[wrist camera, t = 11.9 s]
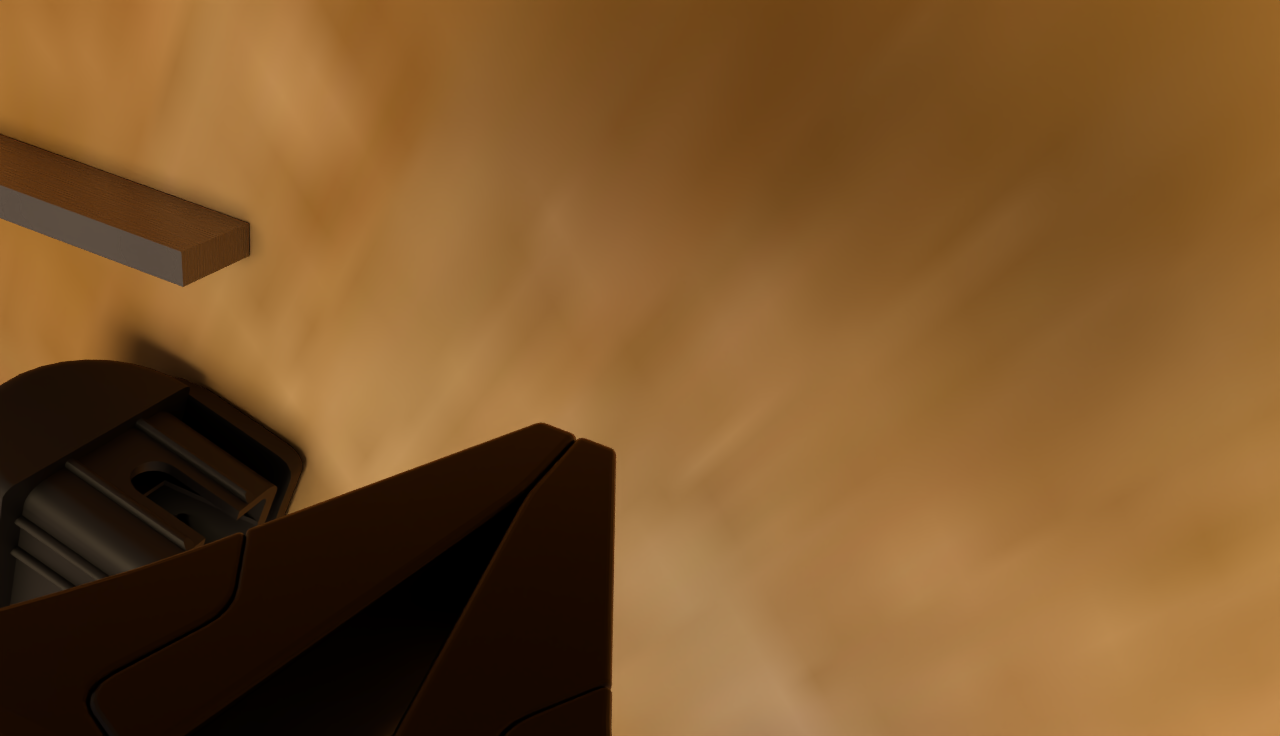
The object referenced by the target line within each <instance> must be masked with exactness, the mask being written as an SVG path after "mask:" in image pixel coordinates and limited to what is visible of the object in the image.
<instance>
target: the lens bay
mask: <svg viewBox="0 0 1280 736" xmlns="http://www.w3.org/2000/svg"><path fill="white" fill-rule="evenodd" d="M0 218H1V219H4V220H7V221H9V222H12V223H15V224H17V225H20V226H23V227H25V228H28V229H31V230H33V231H36V232H39V233H41V234H44V235H47V236H49V237H52V238H55V239H57V240H60V241H63V242H65V243H68V244H70V245H73V246H76V247H78V248H81V249H84V250H86V251H89V252H92V253H94V254H97V255H100V256H102V257H105V258H108V259H110V260H113V261H116V262H118V263H121V264H124V265H126V266H129V267H132V268H134V269H137V270H140V271H142V272H145V273H148V274H150V275H153V276H156V277H158V278H161V279H164V280H166V281H169V282H172V283H174V284H177V285H179V286H182V287H184V286H186V285H188V284H190V283H192V282H195V281H197V280H199V279H201V278H203V277H205V276H207V275H210V274H212V273H214V272H216V271H218V270H220V269H222V268H224V267H227V266H229V265H231V264H233V263H235V262H237V261H239V260H241V259H244V258H246V257H248V256H249V223H246V222H244V221H241V220H238V219H235V218H232V217H230V216H227V215H224V214H221V213H219V212H216V211H213V210H210V209H207V208H205V207H202V206H199V205H196V204H193V203H191V202H188V201H185V200H182V199H179V198H177V197H174V196H171V195H168V194H165V193H163V192H160V191H157V190H154V189H151V188H149V187H146V186H143V185H140V184H137V183H135V182H132V181H129V180H126V179H123V178H121V177H118V176H115V175H112V174H109V173H107V172H104V171H101V170H98V169H95V168H93V167H90V166H87V165H84V164H82V163H79V162H76V161H73V160H70V159H68V158H65V157H62V156H59V155H56V154H54V153H51V152H48V151H45V150H42V149H40V148H37V147H34V146H31V145H28V144H26V143H23V142H20V141H17V140H14V139H12V138H9V137H6V136H3V135H0Z"/></svg>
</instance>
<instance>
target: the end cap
mask: <svg viewBox="0 0 1280 736" xmlns="http://www.w3.org/2000/svg"><path fill="white" fill-rule="evenodd" d="M301 471H302V461H301V459H300V457H299V455H298V453H297V452H296V451H295V450H294V449H293V448H292V447H291V446H289V445H288V444H286V443H285V442H284V441H282V440H281V439H279V438H278V437H276V436H275V435H273V434H272V433H270V432H269V431H267V430H266V429H265V428H263V427H262V426H260V425H259V424H257V423H256V422H254V421H253V420H251V419H250V418H249V417H247V416H246V415H244V414H243V413H241V412H240V411H238V410H237V409H235V408H234V407H232V406H231V405H230V404H228V403H227V402H225V401H224V400H222V399H221V398H219V397H218V396H216V395H215V394H213V393H212V392H211V391H209V390H207V389H205V388H203V387H200V386H198V385H196V384H194V383H191V382H189V381H187V380H185V379H182V378H176V377H171V376H168V375H166V374H163V373H161V372H158V371H156V370H154V369H150V368H146V367H143V366H139V365H135V364H131V363H124V362H118V361H111V360H77V361H66V362H59V363H55V364H50V365H45V366H41V367H38V368H35V369H33V370H30V371H27V372H24V373H22V374H19V375H18V376H16V377H14V378H12V379H10V380H9V381H7V382H5V383H3V384H2V385H0V608H3V607H6V606H10V605H13V604H17V603H20V602H24V601H27V600H31V599H35V598H38V597H42V596H45V595H49V594H52V593H56V592H59V591H63V590H66V589H69V588H73V587H76V586H79V585H83V584H86V583H89V582H93V581H96V580H99V579H103V578H106V577H109V576H113V575H116V574H119V573H123V572H126V571H129V570H133V569H136V568H139V567H142V566H145V565H148V564H151V563H153V562H156V561H159V560H162V559H165V558H168V557H171V556H174V555H177V554H180V553H183V552H186V551H188V550H191V549H194V548H197V547H200V546H203V545H206V544H208V543H211V542H214V541H216V540H219V539H222V538H225V537H227V536H230V535H233V534H236V533H243V534H244V535H246V532H247V530H248V529H250V528H253V527H255V526H258V525H261V524H264V523H266V522H269V521H272V520H274V519H277V518H280V517H283V516H284V515H285V512H286V509H287V507H288V504H289V502H290V499H291V497H292V494H293V491H294V489H295V486H296V484H297V481H298V478H299V476H300V473H301Z"/></svg>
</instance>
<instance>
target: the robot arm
mask: <svg viewBox="0 0 1280 736" xmlns="http://www.w3.org/2000/svg"><path fill="white" fill-rule="evenodd" d="M615 481H616V453H615V451H614V450H613V449H612V448H609V447H607V446H604V445H601V444H599V443H596V442H593V441H591V440H588V439H585V438H579V439H577V440H576V437H575V436H574V434H572V433H570V432H567V431H564V430H562V429H559V428H556V427H554V426H551V425H548V424H546V423H536V424H533V425H530V426H528V427H525V428H522V429H519V430H517V431H514V432H511V433H509V434H506V435H503V436H500V437H498V438H495V439H492V440H490V441H487V442H484V443H481V444H479V445H476V446H473V447H470V448H468V449H465V450H462V451H460V452H457V453H454V454H451V455H449V456H446V457H443V458H441V459H438V460H435V461H432V462H430V463H427V464H424V465H421V466H419V467H416V468H413V469H411V470H408V471H405V472H402V473H400V474H397V475H394V476H392V477H389V478H386V479H383V480H381V481H378V482H375V483H372V484H370V485H367V486H364V487H362V488H359V489H356V490H353V491H351V492H348V493H345V494H343V495H340V496H337V497H334V498H332V499H329V500H326V501H323V502H321V503H318V504H315V505H313V506H310V507H307V508H304V509H302V510H299V511H296V512H294V513H291V514H288V515H285V516H283V517H280V518H277V519H274V520H272V521H269V522H266V523H264V524H261V525H258V526H255V527H253V528H250V529H248V530H247V532H246V535H244V534H243V533H236V534H233V535H230V536H227V537H225V538H222V539H219V540H216V541H214V542H211V543H208V544H206V545H203V546H200V547H197V548H194V549H191V550H188V551H186V552H183V553H180V554H177V555H174V556H171V557H168V558H165V559H162V560H159V561H156V562H153V563H151V564H148V565H145V566H142V567H139V568H136V569H133V570H129V571H126V572H123V573H119V574H116V575H113V576H109V577H106V578H103V579H99V580H96V581H93V582H89V583H86V584H83V585H79V586H76V587H73V588H69V589H66V590H63V591H59V592H56V593H52V594H49V595H45V596H42V597H38V598H35V599H31V600H27V601H24V602H20V603H17V604H13V605H10V606H6V607H3V608H0V736H612V733H611V719H612V692H611V686H612V644H613V590H614V535H615Z"/></svg>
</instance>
